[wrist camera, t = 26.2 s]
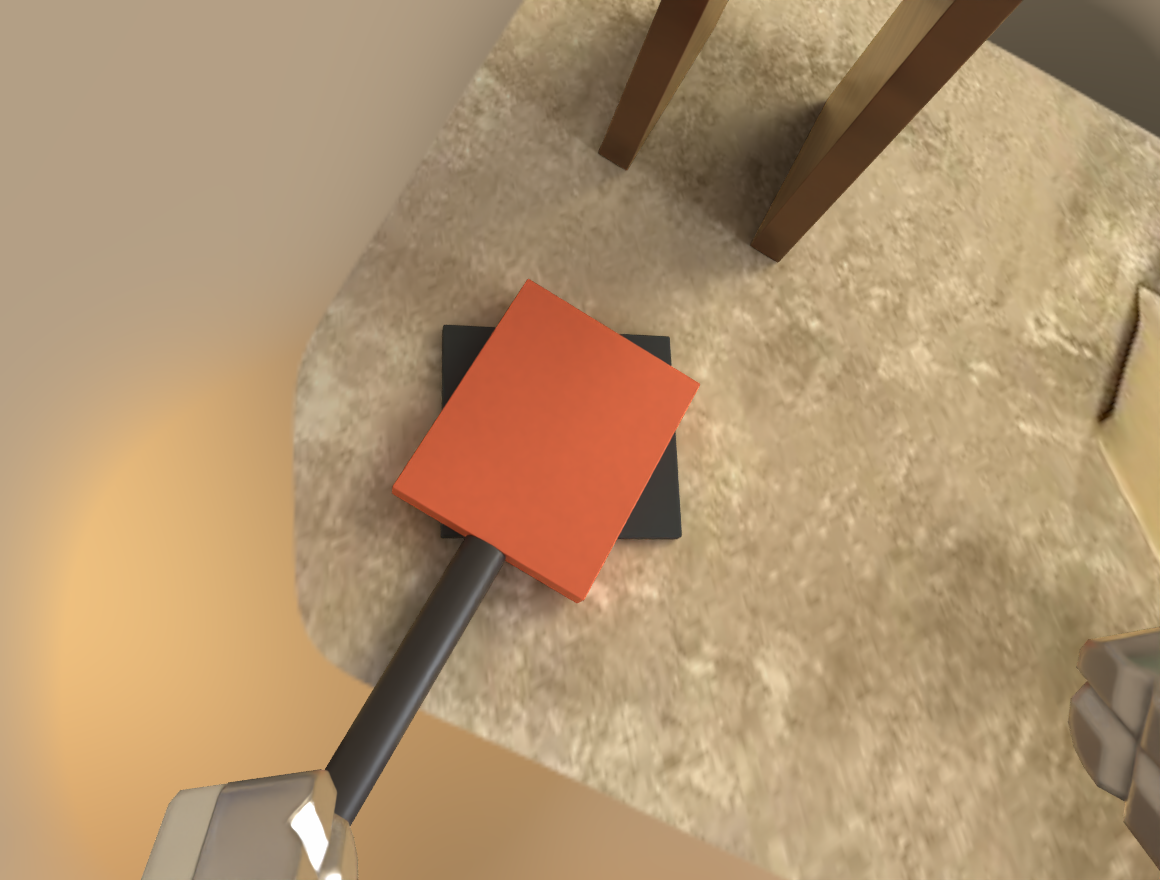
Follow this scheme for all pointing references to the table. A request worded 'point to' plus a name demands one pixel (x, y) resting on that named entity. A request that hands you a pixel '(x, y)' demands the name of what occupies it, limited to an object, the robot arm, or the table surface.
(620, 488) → the red square paddle
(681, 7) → the stand
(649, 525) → the mat
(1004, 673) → the table surface
